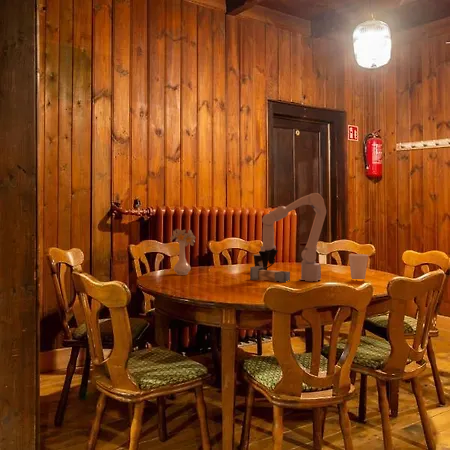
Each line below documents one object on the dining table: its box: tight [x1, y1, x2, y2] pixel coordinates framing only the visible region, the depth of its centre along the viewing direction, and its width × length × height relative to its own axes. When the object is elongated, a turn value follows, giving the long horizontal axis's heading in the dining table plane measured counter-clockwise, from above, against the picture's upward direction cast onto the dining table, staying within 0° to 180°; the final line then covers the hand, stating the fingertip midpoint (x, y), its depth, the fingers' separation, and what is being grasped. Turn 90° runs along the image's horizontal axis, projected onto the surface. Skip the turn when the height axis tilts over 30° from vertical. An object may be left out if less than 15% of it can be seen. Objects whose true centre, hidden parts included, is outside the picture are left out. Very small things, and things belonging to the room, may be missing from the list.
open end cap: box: [274, 270, 291, 283], centre depth 238 cm, size 5×7×5 cm
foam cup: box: [348, 253, 369, 280], centre depth 241 cm, size 10×9×13 cm
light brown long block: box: [258, 269, 282, 282], centre depth 241 cm, size 12×4×5 cm, turn 62°
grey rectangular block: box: [249, 265, 263, 281], centre depth 244 cm, size 4×7×6 cm, turn 151°
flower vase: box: [169, 228, 197, 276], centre depth 261 cm, size 13×18×25 cm
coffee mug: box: [253, 253, 276, 270], centre depth 270 cm, size 12×9×10 cm
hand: (268, 264), depth 241 cm, fingers open, 7 cm apart
